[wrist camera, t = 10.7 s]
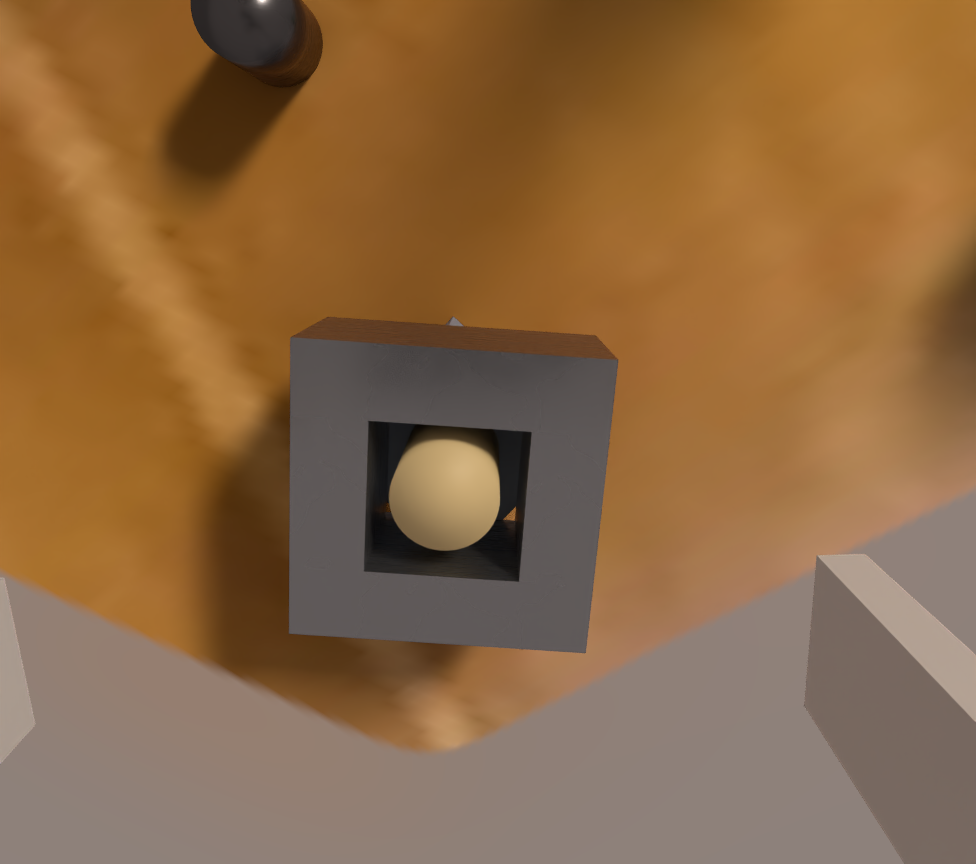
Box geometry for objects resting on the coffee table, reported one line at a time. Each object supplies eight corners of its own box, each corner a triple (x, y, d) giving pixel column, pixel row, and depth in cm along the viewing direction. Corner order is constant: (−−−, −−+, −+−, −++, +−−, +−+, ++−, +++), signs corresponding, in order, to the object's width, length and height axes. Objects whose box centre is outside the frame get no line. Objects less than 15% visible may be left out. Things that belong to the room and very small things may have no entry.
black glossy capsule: (221, 44, 28) (170, 10, 24) (274, -26, 27) (232, -73, 23) (286, 105, 29) (249, 84, 24) (339, 39, 28) (311, 4, 24)
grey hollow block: (323, 564, 29) (288, 633, 24) (327, 316, 26) (290, 337, 22) (570, 581, 29) (585, 653, 24) (595, 335, 27) (618, 359, 22)
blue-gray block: (352, 426, 32) (298, 503, 23) (453, 316, 30) (436, 352, 22) (463, 523, 33) (451, 632, 24) (565, 419, 31) (592, 494, 23)
